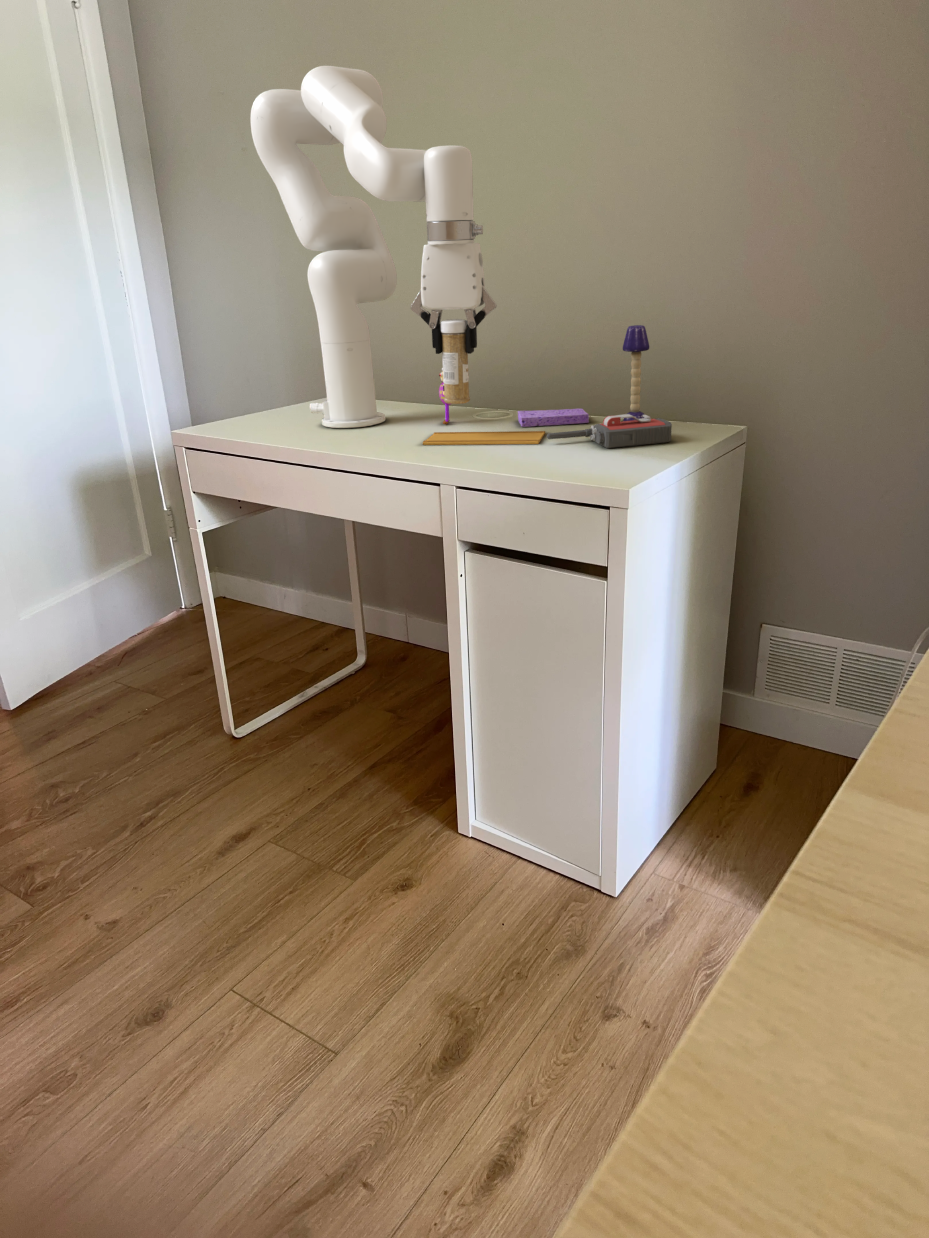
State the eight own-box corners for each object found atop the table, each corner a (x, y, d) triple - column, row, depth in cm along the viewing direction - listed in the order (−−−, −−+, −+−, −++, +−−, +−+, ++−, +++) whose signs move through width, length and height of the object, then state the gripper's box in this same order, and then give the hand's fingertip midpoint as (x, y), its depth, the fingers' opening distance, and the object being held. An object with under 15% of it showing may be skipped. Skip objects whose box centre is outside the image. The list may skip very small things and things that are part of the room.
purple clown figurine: (442, 418, 169) (438, 356, 164) (458, 418, 169) (454, 355, 164) (439, 429, 158) (435, 362, 154) (456, 428, 158) (452, 361, 154)
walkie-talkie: (657, 432, 145) (545, 443, 142) (658, 406, 143) (544, 416, 140) (680, 442, 137) (561, 453, 134) (681, 414, 135) (560, 425, 132)
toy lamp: (649, 423, 153) (652, 326, 146) (623, 425, 153) (625, 327, 146) (644, 419, 157) (647, 324, 151) (619, 420, 157) (620, 325, 151)
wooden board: (422, 445, 146) (422, 442, 146) (435, 434, 154) (435, 431, 154) (538, 444, 142) (538, 441, 142) (545, 433, 150) (545, 430, 150)
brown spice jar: (475, 402, 146) (472, 319, 141) (452, 405, 144) (449, 321, 139) (460, 398, 150) (457, 318, 144) (438, 402, 148) (434, 320, 142)
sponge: (517, 420, 162) (517, 410, 162) (583, 417, 162) (583, 407, 162) (520, 427, 156) (520, 417, 155) (589, 423, 156) (589, 413, 155)
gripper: (506, 232, 138) (508, 349, 145) (406, 236, 141) (412, 350, 149) (498, 232, 131) (500, 355, 138) (393, 236, 135) (400, 356, 142)
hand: (454, 351), depth 143 cm, fingers closed on brown spice jar, 4 cm apart
